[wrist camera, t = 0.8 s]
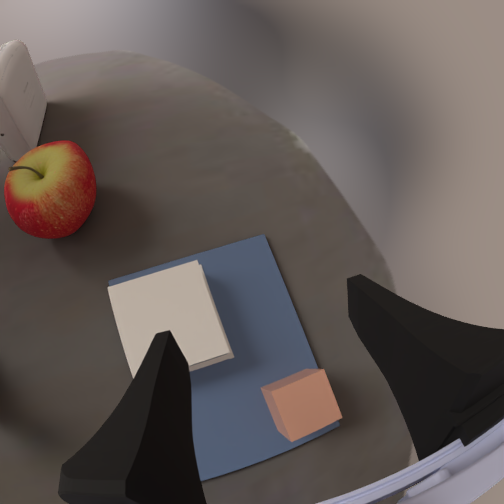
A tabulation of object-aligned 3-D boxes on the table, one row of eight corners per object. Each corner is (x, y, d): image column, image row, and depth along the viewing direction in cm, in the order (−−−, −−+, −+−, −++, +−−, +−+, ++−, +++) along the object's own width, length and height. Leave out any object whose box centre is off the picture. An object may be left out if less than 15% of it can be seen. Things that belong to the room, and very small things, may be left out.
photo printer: (37, 158, 27) (-7, 79, 16) (8, 167, 26) (-40, 95, 15) (51, 99, 30) (26, 26, 19) (25, 107, 29) (-5, 39, 18)
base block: (226, 353, 23) (229, 352, 21) (142, 379, 22) (134, 381, 19) (197, 271, 25) (197, 259, 23) (117, 296, 23) (107, 287, 21)
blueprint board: (337, 424, 23) (340, 425, 22) (181, 484, 19) (181, 486, 19) (263, 236, 28) (264, 233, 27) (109, 282, 24) (107, 280, 24)
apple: (19, 230, 24) (-34, 177, 15) (67, 165, 27) (33, 98, 18) (72, 270, 24) (17, 221, 15) (123, 195, 27) (97, 122, 18)
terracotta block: (322, 411, 23) (342, 417, 19) (278, 430, 22) (291, 442, 18) (305, 368, 24) (323, 368, 20) (260, 387, 23) (271, 391, 19)
